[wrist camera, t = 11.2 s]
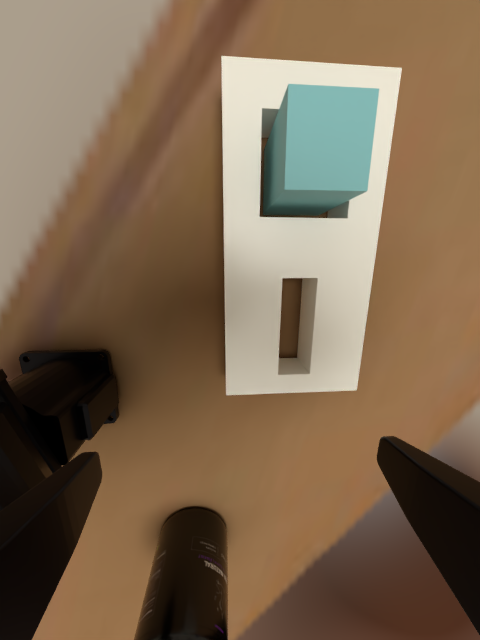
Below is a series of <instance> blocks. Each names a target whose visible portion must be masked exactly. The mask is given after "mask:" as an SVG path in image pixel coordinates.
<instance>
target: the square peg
mask: <svg viewBox="0 0 480 640" xmlns="http://www.w3.org/2000/svg"><path fill="white" fill-rule="evenodd" d="M378 96H379V89H378V88H359V87H341V86H322V85H303V84H288V86H287V89H286V92H285V94H284V97H283V100H282V103H281V105H280V108H279V111H278V113H277V116H276V119H275V122H274V124H273V127H272V130H271V132H270V135H269V138H268V141H267V143H266V146H265V149H264V187H263V215H313V216H318V215H320V214H322V213H324V212H326V211H328V210H330V209H332V208H334V207H336V206H338V205H340V204H342V203H344V202H347V201H349V200H351V199H353V198H355V197H357V196H359V195H361V194H363V193H365V192H367V190H368V181H369V173H370V164H371V156H372V147H373V139H374V130H375V122H376V113H377V105H378Z"/></svg>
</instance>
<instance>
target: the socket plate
mask: <svg viewBox="0 0 480 640" xmlns="http://www.w3.org/2000/svg"><path fill="white" fill-rule="evenodd" d="M401 71H402V68H393V67H378V66H363V65H348V64H334V63H319V62H304V61H289V60H274V59H259V58H244V57H229V56H222V146H223V218H224V290H225V362H226V395H248V394H273V393H299V392H325V391H351V390H357V384H358V377H359V370H360V363H361V356H362V349H363V341H364V334H365V327H366V320H367V313H368V306H369V299H370V292H371V284H372V277H373V270H374V263H375V256H376V249H377V242H378V235H379V227H380V220H381V213H382V206H383V199H384V192H385V185H386V177H387V170H388V163H389V156H390V149H391V142H392V135H393V128H394V120H395V113H396V106H397V99H398V92H399V85H400V78H401ZM288 84H303V85H322V86H341V87H359V88H378V89H379V96H378V105H377V113H376V122H375V130H374V139H373V147H372V156H371V164H370V173H369V181H368V190H367V192H365V193H363V194H361V195H359V196H357V197H355V198H353V199H351V200H349V201H347V202H344V203H342V204H340V205H338V206H336V207H334V208H332V209H330V210H328V215H327V218H287V217H260V177H261V137H262V138H269V135H270V132H271V130H272V127H273V124H274V122H275V119H276V116H277V113H278V111H279V108H280V105H281V103H282V100H283V97H284V94H285V92H286V89H287V86H288ZM282 278H302V292H301V307H300V322H299V337H298V351H297V358H279V341H280V319H281V298H282Z"/></svg>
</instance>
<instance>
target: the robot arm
mask: <svg viewBox="0 0 480 640" xmlns="http://www.w3.org/2000/svg"><path fill="white" fill-rule="evenodd" d="M100 354H101V355H103V356H104V358H101V356H100ZM27 357H29V359H30V360H29V359H28V358H27ZM19 360H20V364H21V368H22V372H23V375H21V376H19V377H17V378H15V379H14V380H12V381H10V382H7V381H6V378H7V376H6V374H5V373H4V371H3V369H0V640H32V638H33V636H34V634H35V632H36V629H37V627H38V625H39V623H40V621H41V619H42V617H43V615H44V613H45V611H46V609H47V606H48V604H49V602H50V600H51V598H52V596H53V594H54V592H55V590H56V588H57V585H58V583H59V581H60V579H61V577H62V575H63V573H64V571H65V569H66V567H67V565H68V562H69V560H70V558H71V556H72V554H73V552H74V549H75V547H76V545H77V543H78V540H79V538H80V535H81V533H82V530H83V527H84V525H85V522H86V520H87V517H88V514H89V512H90V509H91V507H92V504H93V501H94V499H95V496H96V494H97V491H98V488H99V486H100V483H101V480H102V469H101V464H100V458H99V454H98V453H97V452H84V453H81V454H80V455H78V456H77V457H75V458H74V459H73V460H71V458H72V457H73V456H74V454H75V453H76V452H77V451H78V449H79V448H80V447H81V445H82V444H83V443H84V442H85V440H91V439H92V438H93V437H94V436H95V434H96V433H97V432H98V430H99V429H100V428H101V426H102V425H103V424H107V423H114V422H115V421H116V420H117V418H118V416H119V414H118V408H117V405H118V403H119V400H118V393H117V386H116V379H115V376H114V375H113V373H112V366H111V359H110V354H109V352H108V351H106V350H63V351H28V352H25V353H23V354H21V355H20V357H19ZM110 416H113V418H111V417H110ZM70 460H71V461H70ZM69 461H70V462H69ZM377 462H378V465H379V467H380V469H381V471H382V473H383V474H384V476H385V478H386V480H387V482H388V484H389V486H390V488H391V490H392V492H393V493H394V495H395V497H396V499H397V501H398V503H399V505H400V507H401V508H402V510H403V512H404V514H405V516H406V518H407V519H408V521H409V523H410V524H411V526H412V527H413V529H414V531H415V533H416V534H417V536H418V537H419V539H420V541H421V542H422V544H423V545H424V547H425V549H426V550H427V552H428V553H429V555H430V557H431V558H432V560H433V561H434V563H435V565H436V566H437V568H438V569H439V571H440V572H441V574H442V576H443V577H444V579H445V581H446V582H447V584H448V585H449V587H450V589H451V590H452V592H453V593H454V595H455V597H456V598H457V600H458V601H459V603H460V604H461V606H462V608H463V609H464V611H465V613H466V614H467V616H468V617H469V619H470V621H471V622H472V624H473V625H474V627H475V628H476V630H477V632H478V633H479V635H480V482H478V481H477V480H474V479H473V478H471V477H469V476H467V475H465V474H463V473H462V472H460V471H458V470H456V469H454V468H452V467H451V466H449V465H447V464H445V463H443V462H441V461H440V460H438V459H436V458H434V457H432V456H430V455H428V454H427V453H425V452H423V451H421V450H419V449H417V448H415V447H414V446H412V445H410V444H408V443H406V442H404V441H402V440H401V439H399V438H397V437H394V436H384V437H381V439H380V441H379V447H378V453H377ZM61 465H64V466H63V467H62V466H61Z"/></svg>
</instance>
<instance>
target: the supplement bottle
mask: <svg viewBox="0 0 480 640" xmlns="http://www.w3.org/2000/svg"><path fill="white" fill-rule="evenodd" d="M134 640H228V563H227V531H226V527H225V525H224V523H223V521H222V520H221V519H220V517H219V516H217V515H216V514H215V513H213V512H211V511H209V510H206V509H201V508H191V509H185V510H182V511H180V512H178V513H176V514H174V515H173V516H172V517H170V518H169V519H168V520H167V522H166V523H165V524H164V526H163V528H162V530H161V533H160V537H159V541H158V544H157V548H156V552H155V556H154V560H153V565H152V569H151V573H150V577H149V581H148V585H147V589H146V593H145V597H144V601H143V605H142V609H141V613H140V617H139V621H138V626H137V630H136V634H135V638H134Z"/></svg>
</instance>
